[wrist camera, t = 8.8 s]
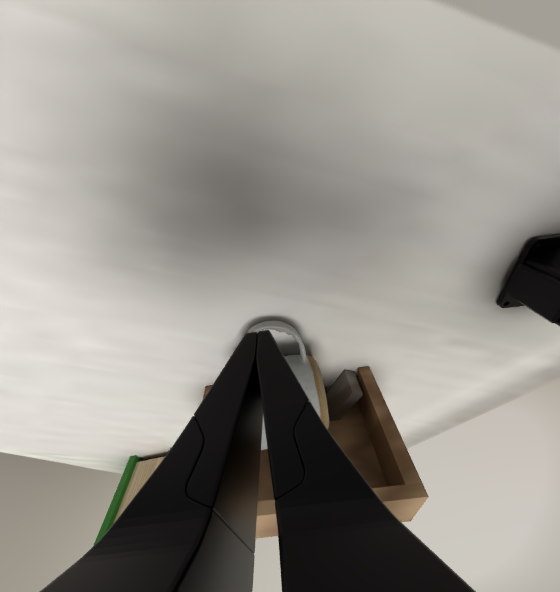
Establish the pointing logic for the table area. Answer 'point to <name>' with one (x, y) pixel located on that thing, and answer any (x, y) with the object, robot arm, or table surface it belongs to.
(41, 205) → the table surface
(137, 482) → the hardback book
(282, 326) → the ceramic mug
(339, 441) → the wooden storage tray
